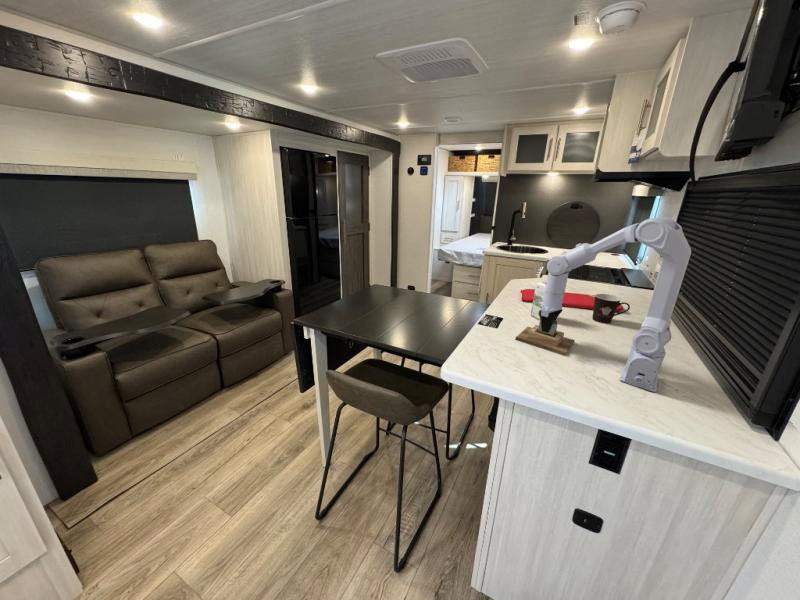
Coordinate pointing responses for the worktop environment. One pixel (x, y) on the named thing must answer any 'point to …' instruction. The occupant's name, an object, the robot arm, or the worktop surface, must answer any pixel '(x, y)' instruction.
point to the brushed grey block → (552, 329)
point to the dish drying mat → (568, 299)
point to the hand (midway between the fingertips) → (546, 329)
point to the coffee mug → (606, 308)
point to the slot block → (546, 340)
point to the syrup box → (538, 299)
